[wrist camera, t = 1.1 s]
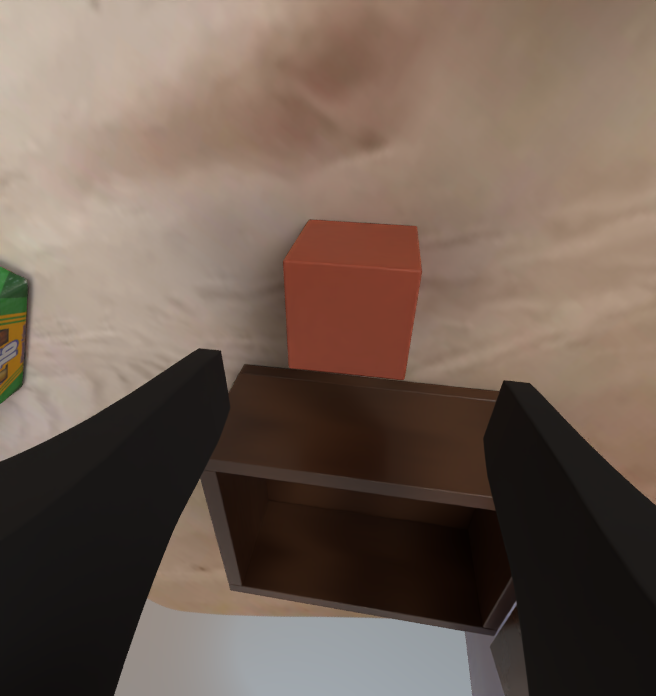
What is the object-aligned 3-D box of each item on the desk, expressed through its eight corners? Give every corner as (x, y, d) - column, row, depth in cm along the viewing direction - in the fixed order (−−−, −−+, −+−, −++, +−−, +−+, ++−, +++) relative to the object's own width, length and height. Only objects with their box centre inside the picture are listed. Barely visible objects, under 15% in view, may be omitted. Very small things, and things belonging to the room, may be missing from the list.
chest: (261, 495, 28) (230, 590, 23) (243, 363, 21) (194, 456, 16) (475, 526, 26) (494, 636, 21) (530, 394, 19) (576, 509, 14)
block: (403, 320, 18) (404, 381, 15) (309, 312, 19) (287, 368, 15) (417, 225, 16) (422, 270, 12) (308, 219, 16) (282, 260, 13)
